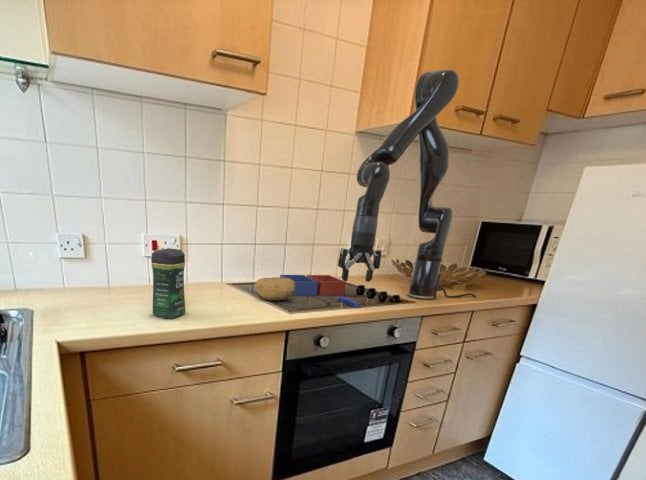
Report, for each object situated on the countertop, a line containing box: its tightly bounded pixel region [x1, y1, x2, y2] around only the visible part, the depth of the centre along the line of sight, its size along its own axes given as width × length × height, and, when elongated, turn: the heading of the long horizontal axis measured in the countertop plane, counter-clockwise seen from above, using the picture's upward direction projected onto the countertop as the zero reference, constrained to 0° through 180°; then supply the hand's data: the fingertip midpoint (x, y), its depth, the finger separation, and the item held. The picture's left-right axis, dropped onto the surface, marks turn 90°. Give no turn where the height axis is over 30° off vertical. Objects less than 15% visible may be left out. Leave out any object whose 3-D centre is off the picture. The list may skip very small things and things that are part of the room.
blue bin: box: [279, 274, 318, 296], centre depth 159 cm, size 10×15×5 cm
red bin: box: [306, 274, 347, 296], centre depth 161 cm, size 10×15×5 cm
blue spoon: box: [337, 296, 360, 308], centre depth 143 cm, size 12×4×1 cm, turn 14°
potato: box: [254, 276, 296, 302], centre depth 140 cm, size 10×14×8 cm
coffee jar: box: [150, 248, 186, 319], centre depth 114 cm, size 10×8×19 cm
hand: (356, 281), depth 137 cm, fingers open, 8 cm apart
